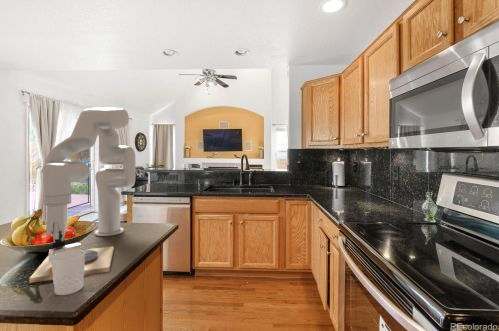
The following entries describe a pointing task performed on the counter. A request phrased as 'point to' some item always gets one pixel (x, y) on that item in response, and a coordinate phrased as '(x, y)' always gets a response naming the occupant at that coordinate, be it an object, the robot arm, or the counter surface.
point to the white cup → (68, 271)
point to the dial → (89, 254)
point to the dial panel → (95, 266)
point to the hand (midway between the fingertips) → (59, 252)
